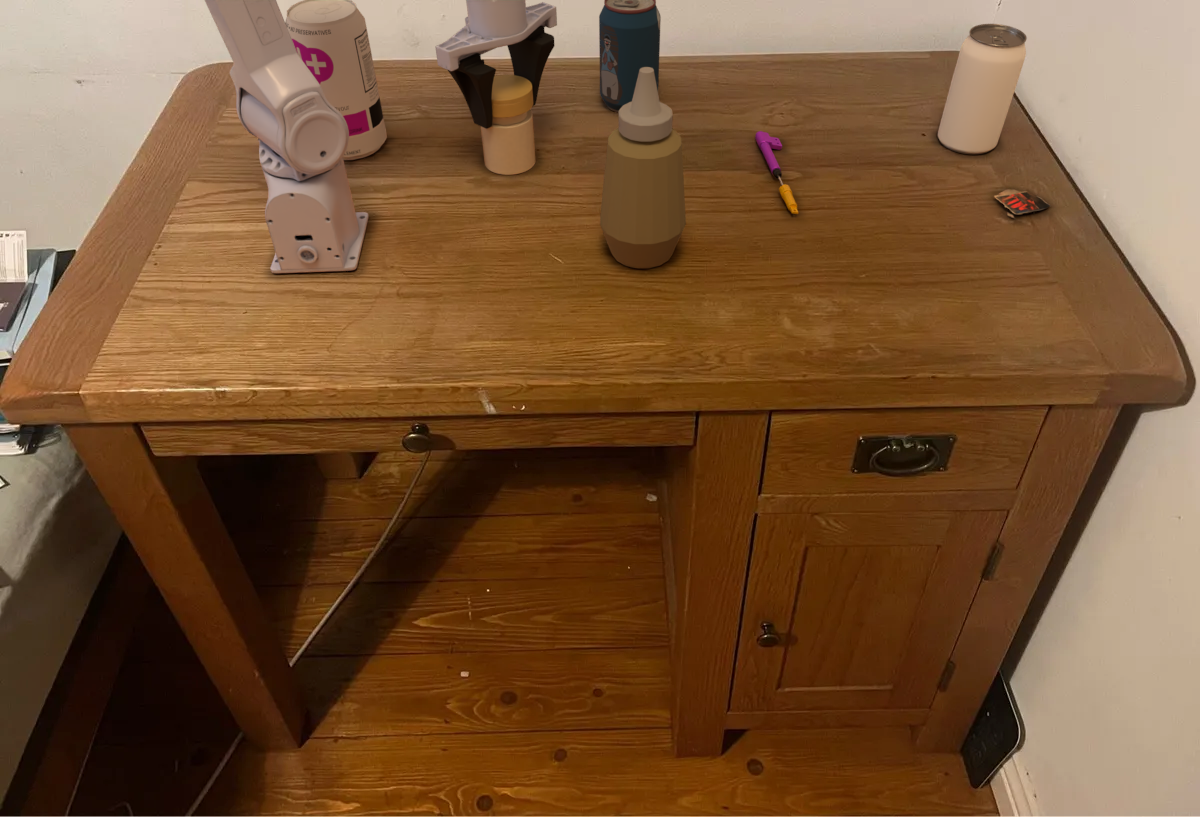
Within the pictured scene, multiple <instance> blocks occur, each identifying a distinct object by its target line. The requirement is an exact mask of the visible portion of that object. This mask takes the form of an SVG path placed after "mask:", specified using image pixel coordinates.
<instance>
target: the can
mask: <svg viewBox="0 0 1200 817" xmlns="http://www.w3.org/2000/svg"><path fill="white" fill-rule="evenodd" d="M968 33H969V35H967V37H966V38H965V39H964V41H963V42H962V44H961V46H960V50H959V52H958V55H957V60H956V64H955V66H954V71H953V74H952V78H951V82H950V85H949V89H948V92H947V97H946V100H945V104H944V107H943V112H942V116H941V119H940V123H939V126H938V130H937V138H938V139H939V142H940V143H941V145H942V146H943V147H945V148H947V149H948V150H950V151H952V152H955V153H959V154H963V155H971V156H972V155H982V154H986V153H989V152H990V151H992V150H993V149H995V148H996V147H997V145H998V143H999V140H1000V137H1001V134H1002V131H1003V128H1004V124H1005V122H1006V119H1007V116H1008V112H1009V110H1010V107H1011V103H1012V100H1013V97H1014V94H1015V91H1016V88H1017V85H1018V82H1019V79H1020V76H1021V72H1022V69H1023V66H1024V63H1025V59H1026V56H1027V50H1026V41H1027V39H1028V37H1027V35H1026V34H1025V32H1023V31H1022V30H1021V29H1019V28H1016V27H1013V26H1010V25H1007V24H1000V23H982V24H981V23H980V24H976V25H975V26H972V27H971V28H970V29H969V32H968Z"/></svg>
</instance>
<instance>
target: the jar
mask: <svg viewBox="0 0 1200 817" xmlns="http://www.w3.org/2000/svg"><path fill="white" fill-rule="evenodd" d="M479 127H480V135H481V144H482V154H483V161H484V167H485V168H486V169H487V170H488V171H490V172H491V173H494V174H497V175H502V176H512V175H519V174H522V173H525V172H527V171H529V170H531V169H533V167H534V166H535V164H536V162H537V161H536V160H537V158H536V145H535V144H536V142H535V131H534V113H533V111H532V110H531V109H530V110H529V111H527V112H525V113H523V114H521V115H518V116H514V117H506V118H498V117H493V121H492V127H490V128H488V129H486V128H483V127H481V126H479Z"/></svg>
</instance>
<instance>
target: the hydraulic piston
mask: <svg viewBox="0 0 1200 817" xmlns="http://www.w3.org/2000/svg"><path fill="white" fill-rule="evenodd" d="M754 135H755V137H754V139H755V141H756V143H757V145H758V148H759V150H760V151H761V152H762V155H763V157H764V159H765V161H766V164H767V165H768V168H769V170H770V173H771V175H772V176H773V178H774V179H775V180H778V181H779V183H780V187H779V188H778V192H779V194H780V197H781V199H783V201H784V203H785V206H786V208H787V210H788V212H790V213H791V214H794V215H799V213H800V212H799V210H798V203H797V202H796V200H795V198H794V195H793V191H792V188H791V186H790V185H789V184H786V183H785V184H784V183H783V181H782V174H783V172H782V169H781V167H780V164H779V162H778V160H777V158H776V155H775V154H774V152H773V150H772V149H774V150H779V151H781V150H782V148H783V145H782V143H781V140H780V138H779V137H775V136H770V134H769V132H766V131H763V130H759V131H756V133H755V134H754Z"/></svg>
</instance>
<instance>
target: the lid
mask: <svg viewBox="0 0 1200 817" xmlns="http://www.w3.org/2000/svg"><path fill="white" fill-rule="evenodd" d="M533 107H534V106H533V91H532V84H531V82H530V81H529V80H527V79H526V78H524V77H521V76H516V75H514V74H497V75H496V74H495V76H494V80H493V86H492V114H493V117H498V118H506V117H514V116H518V115H521V114H523V113H525V112H527V111H529V110H531V109H532V108H533Z"/></svg>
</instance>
